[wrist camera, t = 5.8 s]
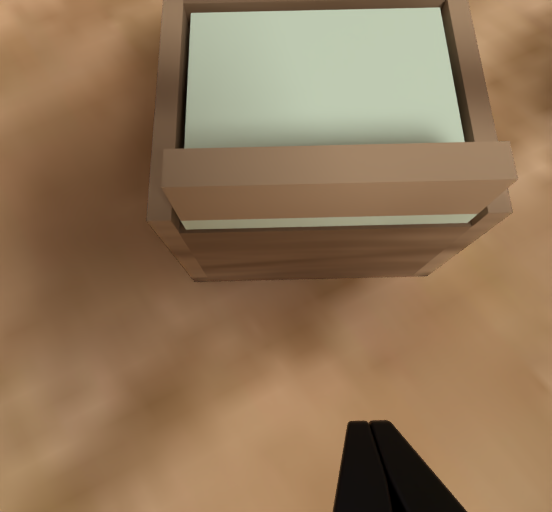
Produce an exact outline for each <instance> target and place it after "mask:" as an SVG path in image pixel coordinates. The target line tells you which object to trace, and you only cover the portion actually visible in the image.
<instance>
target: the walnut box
mask: <svg viewBox="0 0 552 512" xmlns="http://www.w3.org/2000/svg"><path fill="white" fill-rule="evenodd" d="M394 8H440V10H441V16H442V21H443V27H444V32H445V38H446V43H447V48H448V54H449V59H450V65H451V70H452V76H453V81H454V87H455V92H456V97H457V103H458V108H459V114H460V119H461V125H462V130H463V135H464V141H465V142H493V141H498V139H497V135H496V130H495V125H494V121H493V116H492V111H491V106H490V102H489V97H488V92H487V87H486V83H485V78H484V73H483V69H482V64H481V59H480V54H479V50H478V45H477V40H476V35H475V31H474V26H473V21H472V17H471V12H470V7H469V2H468V0H163V8H162V21H161V34H160V48H159V61H158V74H157V87H156V100H155V113H154V127H153V140H152V153H151V166H150V179H149V192H148V206H147V219H146V221H147V223H148V224H149V225H150V226H151V228H152V229H153V230H154V231H155V233H156V234H157V235H158V236H159V238H160V239H161V240H162V241H163V243H164V244H165V245H166V246H167V248H168V249H169V250H170V251H171V253H172V254H173V255H174V256H175V258H176V259H177V260H178V262H179V263H180V264H181V265H182V267H183V268H184V269H185V270H186V272H187V273H188V274H189V275H190V277H191V278H192V279H193V280H194V282H200V281H242V280H283V279H325V278H367V277H409V276H428V275H429V274H430V273H432V272H433V271H435V270H436V269H437V268H439V267H440V266H441V265H443V264H444V263H445V262H447V261H448V260H449V259H451V258H452V257H453V256H455V255H456V254H458V253H459V252H460V251H462V250H463V249H464V248H466V247H467V246H468V245H470V244H471V243H472V242H474V241H475V240H476V239H478V238H479V237H480V236H482V235H483V234H485V233H486V232H487V231H489V230H490V229H491V228H493V227H494V226H495V225H497V224H498V223H499V222H501V221H502V220H503V219H505V218H506V217H508V216H509V215H510V214H512V213H513V210H512V206H511V201H510V196H509V191H508V188H507V189H506V190H505V191H504V192H503V193H501V194H500V195H499V196H498V197H497V198H496V199H495V200H493V201H492V202H491V203H490V204H489V205H488V206H486V207H485V208H484V209H483V210H482V211H481V212H479V213H478V214H477V215H476V216H475V217H474V218H473V219H471V220H470V221H469V222H468V223H445V224H402V225H360V226H317V227H275V228H232V229H189V230H186V229H185V227H184V226H183V224H182V222H181V220H180V219H179V217H178V215H177V214H176V212H175V210H174V208H173V207H172V205H171V203H170V202H169V200H168V198H167V197H166V195H165V193H164V191H163V190H162V188H161V182H162V167H163V152H164V149H184V144H185V124H186V103H187V83H188V62H189V42H190V22H191V13H212V12H258V11H303V10H349V9H394Z"/></svg>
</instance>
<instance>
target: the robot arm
mask: <svg viewBox="0 0 552 512" xmlns="http://www.w3.org/2000/svg"><path fill="white" fill-rule="evenodd" d="M333 512H467V511H466V510H465V509H464V507H463V506H462V505H461V504H460V503H459V502H458V500H457V499H456V498H455V497H454V496H453V495H452V493H451V492H450V491H449V490H448V489H447V488H446V486H445V485H444V484H443V483H442V482H441V480H440V479H439V478H438V477H437V476H436V475H435V473H434V472H433V471H432V470H431V469H430V468H429V466H428V465H427V464H426V463H425V462H424V460H423V459H422V458H421V457H420V456H419V455H418V453H417V452H416V451H415V450H414V449H413V448H412V446H411V445H410V444H409V443H408V442H407V441H406V439H405V438H404V437H403V436H402V435H401V433H400V432H399V431H398V430H397V429H396V428H395V426H394V425H393V424H392V423H391V422H390V421H387V420H373V421H370V422H369V423H368V422H367V421H350V422H348V425H347V430H346V436H345V442H344V448H343V454H342V460H341V465H340V471H339V477H338V483H337V489H336V495H335V501H334V507H333Z"/></svg>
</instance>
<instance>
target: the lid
mask: <svg viewBox="0 0 552 512" xmlns="http://www.w3.org/2000/svg"><path fill="white" fill-rule="evenodd" d="M517 180H518V176H517V172H516V167H515V163H514V158H513V154H512V149H511V145H510V141H493V142H465V141H464V135H463V130H462V125H461V119H460V114H459V108H458V103H457V97H456V92H455V87H454V81H453V76H452V70H451V65H450V59H449V54H448V48H447V43H446V38H445V32H444V27H443V21H442V16H441V10H440V8H394V9H349V10H303V11H258V12H212V13H191V22H190V42H189V62H188V83H187V103H186V124H185V144H184V149H164V152H163V167H162V182H161V188H162V190H163V191H164V193H165V195H166V197H167V198H168V200H169V202H170V203H171V205H172V207H173V208H174V210H175V212H176V214H177V215H178V217H179V219H180V220H181V222H182V224H183V226H184V227H185V229H186V230H189V229H232V228H275V227H317V226H360V225H402V224H445V223H468V222H469V221H470V220H471V219H473V218H474V217H475V216H476V215H477V214H478V213H479V212H481V211H482V210H483V209H484V208H485V207H486V206H488V205H489V204H490V203H491V202H492V201H493V200H495V199H496V198H497V197H498V196H499V195H500V194H501V193H503V192H504V191H505V190H506V189H507V188H508V187H510V186H511V185H512V184H513V183H514V182H515V181H517Z"/></svg>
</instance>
